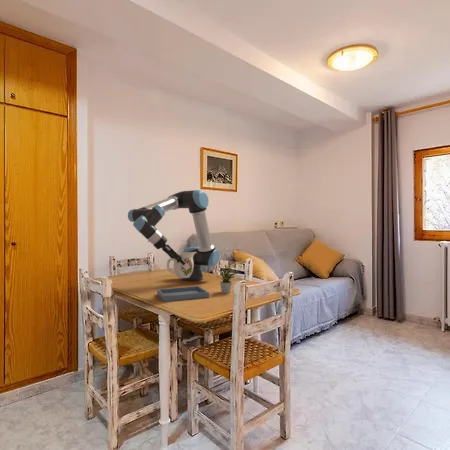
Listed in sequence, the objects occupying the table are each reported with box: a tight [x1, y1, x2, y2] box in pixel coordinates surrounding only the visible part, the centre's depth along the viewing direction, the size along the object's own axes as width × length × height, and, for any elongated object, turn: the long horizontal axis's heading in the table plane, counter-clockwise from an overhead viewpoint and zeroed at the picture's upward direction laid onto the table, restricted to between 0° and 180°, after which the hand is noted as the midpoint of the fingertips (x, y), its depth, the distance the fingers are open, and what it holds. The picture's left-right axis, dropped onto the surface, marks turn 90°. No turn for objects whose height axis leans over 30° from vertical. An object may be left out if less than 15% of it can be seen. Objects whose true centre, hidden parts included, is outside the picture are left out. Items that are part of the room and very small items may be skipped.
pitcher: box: [166, 252, 197, 279], centre depth 182 cm, size 11×18×14 cm, turn 121°
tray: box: [156, 285, 210, 303], centre depth 182 cm, size 25×18×3 cm
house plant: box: [214, 266, 238, 294], centre depth 191 cm, size 14×14×16 cm
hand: (185, 266), depth 183 cm, fingers closed on pitcher, 11 cm apart
